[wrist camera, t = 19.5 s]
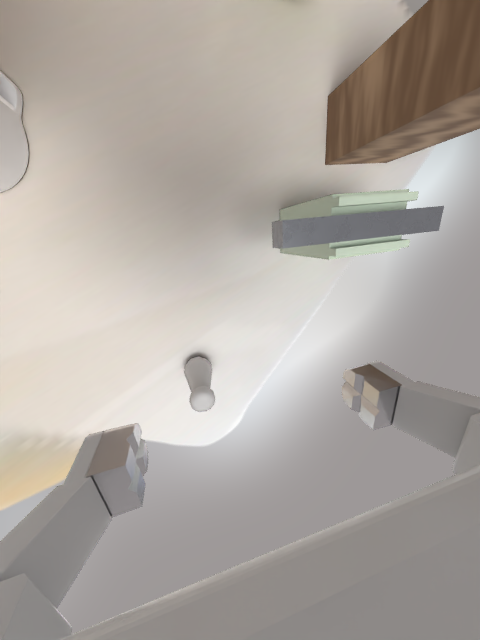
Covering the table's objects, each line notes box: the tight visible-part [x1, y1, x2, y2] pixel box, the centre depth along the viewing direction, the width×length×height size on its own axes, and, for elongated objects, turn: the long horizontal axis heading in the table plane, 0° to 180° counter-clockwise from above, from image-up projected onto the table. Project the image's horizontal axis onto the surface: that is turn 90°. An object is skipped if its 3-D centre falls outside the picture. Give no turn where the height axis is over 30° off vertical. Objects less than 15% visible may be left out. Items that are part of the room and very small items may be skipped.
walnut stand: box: [325, 0, 480, 165], centre depth 29 cm, size 14×10×27 cm
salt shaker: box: [184, 356, 215, 412], centre depth 43 cm, size 6×6×13 cm
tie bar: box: [272, 206, 444, 249], centre depth 29 cm, size 23×3×3 cm, turn 95°
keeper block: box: [280, 189, 418, 260], centre depth 37 cm, size 12×8×17 cm, turn 95°
